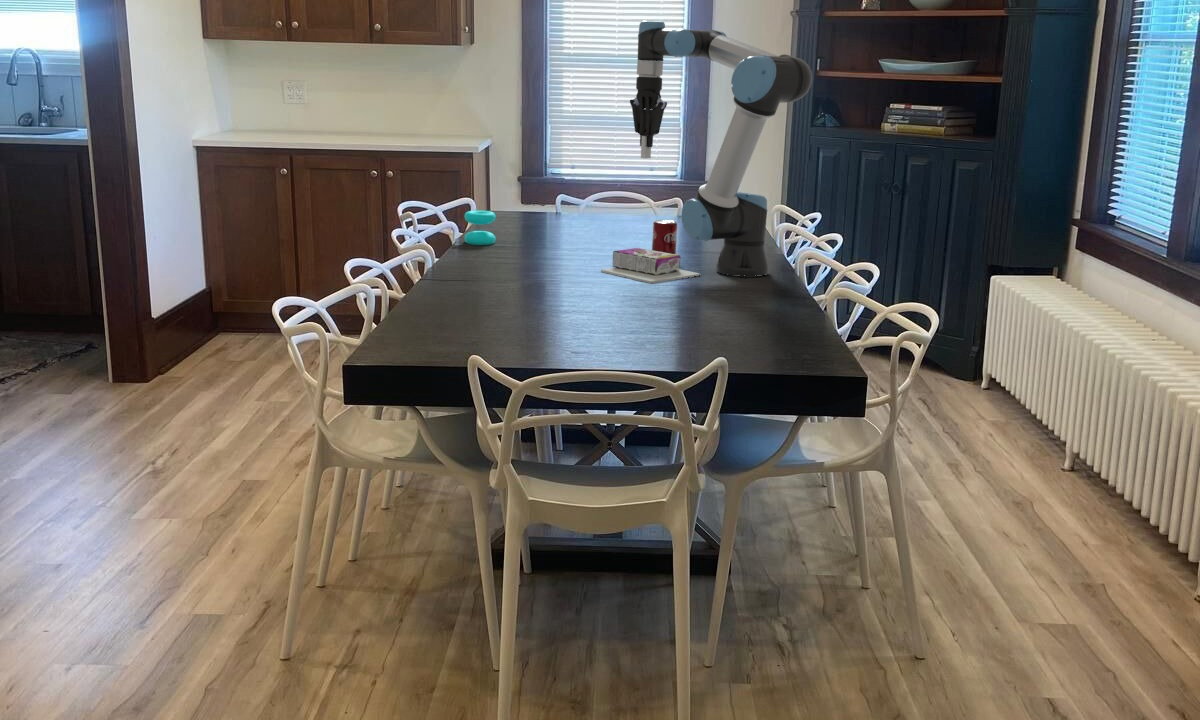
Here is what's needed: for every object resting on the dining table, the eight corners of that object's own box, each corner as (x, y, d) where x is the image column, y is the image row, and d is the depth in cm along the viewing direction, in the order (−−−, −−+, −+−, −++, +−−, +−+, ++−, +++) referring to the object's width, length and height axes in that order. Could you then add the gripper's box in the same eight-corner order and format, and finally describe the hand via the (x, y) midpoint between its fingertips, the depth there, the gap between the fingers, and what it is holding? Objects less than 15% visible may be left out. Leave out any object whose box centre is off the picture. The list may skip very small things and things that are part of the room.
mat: (700, 275, 318) (700, 273, 318) (650, 283, 305) (650, 281, 305) (650, 264, 332) (650, 262, 332) (601, 271, 319) (601, 269, 319)
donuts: (466, 209, 362) (497, 210, 362) (466, 240, 365) (497, 241, 365) (462, 213, 352) (493, 214, 352) (462, 245, 355) (493, 246, 355)
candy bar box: (637, 246, 330) (681, 254, 320) (636, 263, 331) (680, 271, 321) (612, 249, 322) (657, 258, 311) (611, 267, 323) (656, 276, 313)
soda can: (647, 261, 338) (649, 221, 335) (657, 258, 344) (659, 219, 341) (669, 264, 335) (671, 224, 332) (679, 260, 341) (681, 221, 338)
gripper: (674, 77, 325) (670, 159, 331) (641, 75, 334) (638, 155, 340) (657, 77, 320) (653, 160, 326) (624, 75, 328) (621, 156, 335)
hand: (645, 158), depth 333 cm, fingers closed
